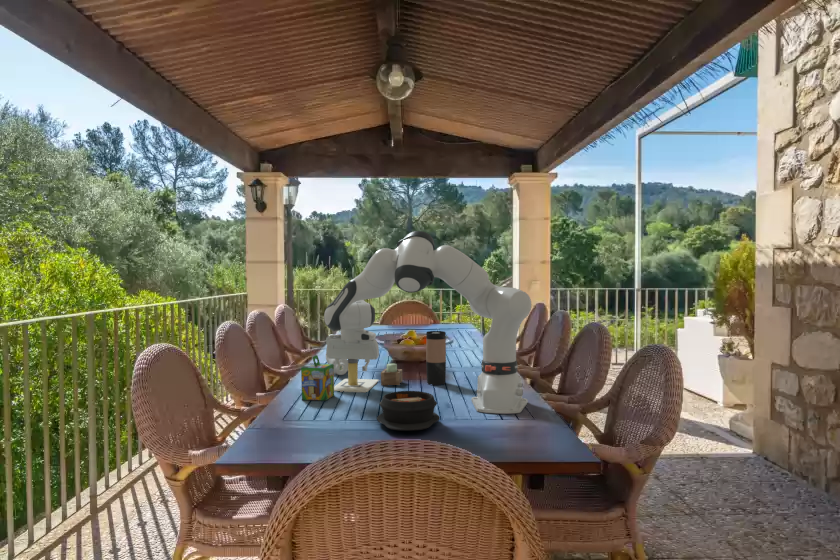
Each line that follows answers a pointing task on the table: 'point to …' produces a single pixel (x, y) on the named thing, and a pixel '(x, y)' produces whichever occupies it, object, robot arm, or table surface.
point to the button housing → (391, 377)
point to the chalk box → (317, 381)
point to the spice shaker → (352, 371)
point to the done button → (391, 367)
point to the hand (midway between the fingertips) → (352, 370)
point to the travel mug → (436, 357)
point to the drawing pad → (362, 385)
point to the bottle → (342, 362)
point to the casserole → (408, 410)
